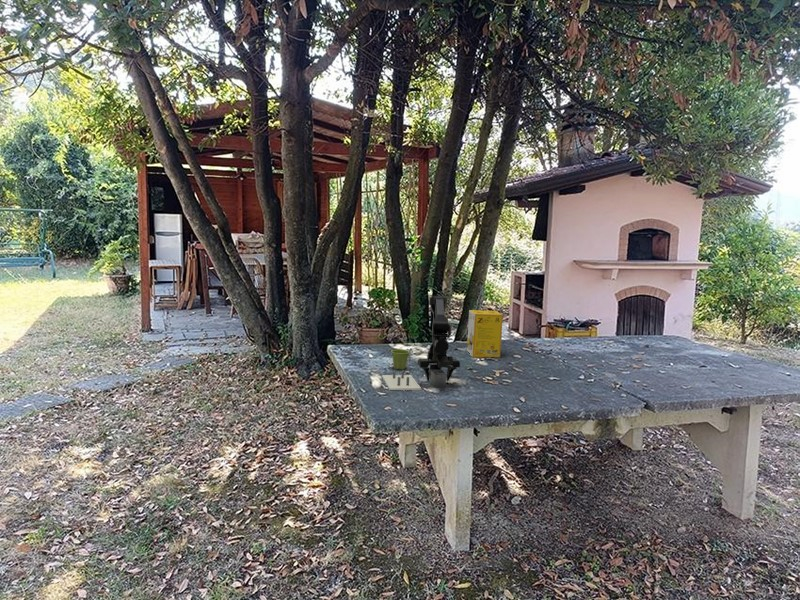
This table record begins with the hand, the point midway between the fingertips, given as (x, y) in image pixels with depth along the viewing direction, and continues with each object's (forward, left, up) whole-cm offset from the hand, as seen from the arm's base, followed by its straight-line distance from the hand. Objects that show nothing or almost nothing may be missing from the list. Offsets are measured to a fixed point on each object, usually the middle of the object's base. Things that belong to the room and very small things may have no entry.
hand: (437, 381), depth 243 cm
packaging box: (-61, +44, -2) cm, 75 cm away
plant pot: (-30, -12, -2) cm, 32 cm away
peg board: (-2, -17, -1) cm, 17 cm away
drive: (0, 0, -2) cm, 2 cm away
